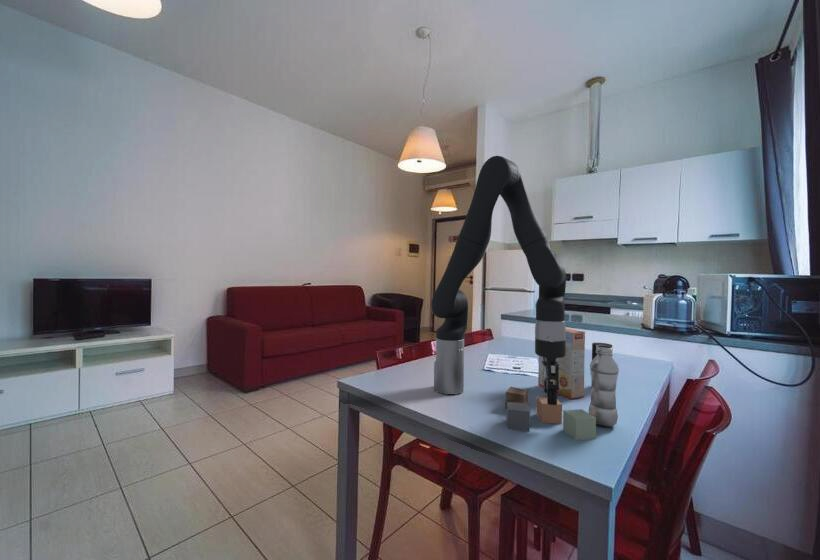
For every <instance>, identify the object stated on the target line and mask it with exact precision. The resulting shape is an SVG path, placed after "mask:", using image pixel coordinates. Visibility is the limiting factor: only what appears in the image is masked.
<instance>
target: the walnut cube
mask: <svg viewBox="0 0 820 560" xmlns="http://www.w3.org/2000/svg"><path fill="white" fill-rule="evenodd" d="M507 402H514V403H525V404H527V405H528V403H529V389H526V388H525V389H524V388H520V387H514V386H509V388H507V390H506V391H505V410H507ZM528 406H529V405H528Z"/></svg>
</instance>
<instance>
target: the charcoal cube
mask: <svg viewBox="0 0 820 560" xmlns="http://www.w3.org/2000/svg"><path fill="white" fill-rule="evenodd" d="M530 415H531V411H530V408H529V405H527V404H525V403H514V402H507V409H506V424H507V425H508V426H507V430H510V429H512V430H511V431H521V432H530V423H531V419H530V417H531V416H530Z"/></svg>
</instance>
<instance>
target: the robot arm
mask: <svg viewBox="0 0 820 560" xmlns="http://www.w3.org/2000/svg"><path fill="white" fill-rule="evenodd" d="M499 197H501V198H502V199H503V201H504V203H505V204H506V206H507V208H508V212H509V215H510V218H511V223H512V228H513V233H514V235H515V238H516V240H517V242H518V244H519V246H520V248H521V250H522V253H524V254H523V255H524V256H525V257H526V261H527V265H528V267H529V271H530V273H531V275H532V278H533V280H534V281H535V283H536V284H537V285H538V298H537V300H536V305H535V325H534V353H535V355H537V356H538V357H539V356H542V357H543V361H542V373H543V375H544V376H543V377H544V388H543V392H544V393H545V394H546V397H547V403H548V404H549V405H557V399H558V393H557V390H559V364H558V362H556V358H562V357H565V356H566V319H565V317H566V315H565V313H566V312H565V309H566V307H565V296H566V287H567V274H566V270H565V268H564V267H563V266H562V265H561V264H559V263H558V260H557V258H556V256H555V255H554V253H553V251H552V249H551V244H550V241H549V239H548V237H547V234H546V233H545V231H544V229H543V227H542V225H541V223H540V221H539V219H538V217H537V215H536V213H535V211H534V209H533V205H532V204H531V201H530V199H529V197H528V193H527V191H526V187H525V184H524V180H523V176H522V174H521V171H520V169H519V166H518V165H517V164H516V163H515V162H513V161H512V160H510V159H508V158H506V157H504V156H501V155H493V156H490V158H488V159H487V160H486V161H485V162H483V164H482V166H481V169H480V170H479V173H478V178H477V180H476V184H475V188H474V191H473V195H472V199H471V202H470V205H469V208H468V211H467V213H466V216H465V219H464V221H463V224H462V227H461V229H460V232H459V233H458V236H457V239H456V242H455V245H454V247H453V251H452V253H451V256H450V258H449V261H448V263H447V265H446V267H445V268H446V269H445V271H444V273H443V275H442V276H441V279H440V281H439V283H438V286H437V287H436V289H435V291H434V293H433V295H432V299H431V311H432V313H433V315H434V316H435V317H437V318H439V319H444V322H443V323H442V324H441V325H440V326H439V327H438V328H437V329H436V333H435V337H436V338H435V361H434V365H433V368H434V369H433V375H434V376H433V392H437V391H438V392H437V393H439V392H440V393H439V394H442V393H445V394H444V395H448V394H455V395H460V394H462V393H464V385H465V383H464V381H465V378H464V375H465V334H466V331H467V329H468V315H469V302H468V298H467V295H466V294H465V292H464V291H462V290H460V288H461V286H462V284H463V282H464V281H465V279H467V277H468V276H469V275H470V274H471V273H472V272H473V271H474V270H475V268H476V267H477V266H478V265H479V264H480V262H481V261H482V260H483V257H484V255H485V253H486V250H487V247H488V246H489V243H490V240H491V236H492V220H493V212H494V208H495V205H496V203H497V201H498V198H499ZM553 382H555V385H553ZM459 393H460V394H459Z"/></svg>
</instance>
